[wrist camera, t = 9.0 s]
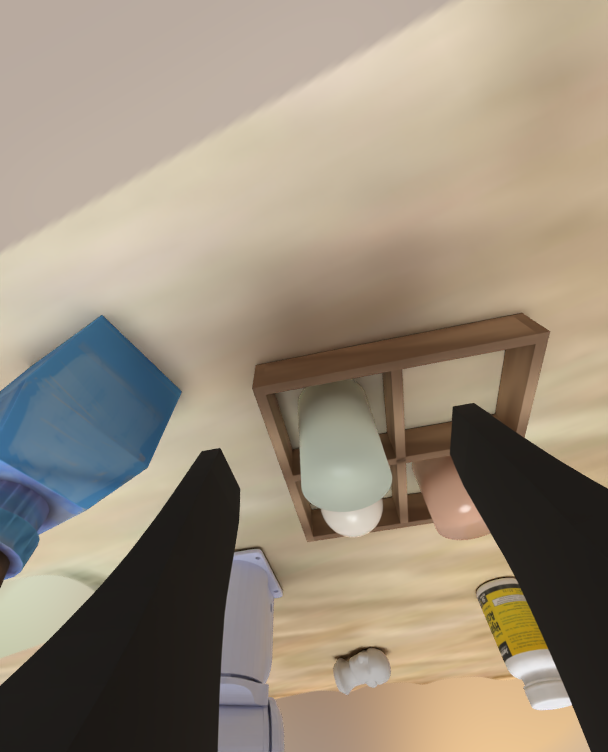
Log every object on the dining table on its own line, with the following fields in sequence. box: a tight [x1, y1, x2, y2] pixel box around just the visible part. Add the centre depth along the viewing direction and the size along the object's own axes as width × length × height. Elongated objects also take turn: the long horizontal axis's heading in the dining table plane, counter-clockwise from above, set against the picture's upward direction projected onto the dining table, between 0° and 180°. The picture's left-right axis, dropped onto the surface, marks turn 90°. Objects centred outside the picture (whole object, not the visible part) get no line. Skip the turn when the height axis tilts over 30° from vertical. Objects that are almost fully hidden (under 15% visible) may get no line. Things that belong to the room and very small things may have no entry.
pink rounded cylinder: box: [412, 456, 490, 540], centre depth 24 cm, size 5×5×5 cm
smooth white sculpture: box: [333, 648, 391, 695], centre depth 46 cm, size 4×8×5 cm
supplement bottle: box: [477, 578, 572, 710], centre depth 34 cm, size 5×5×10 cm
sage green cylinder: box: [298, 379, 392, 512], centre depth 19 cm, size 5×5×6 cm
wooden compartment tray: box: [252, 313, 550, 542], centre depth 23 cm, size 16×16×2 cm
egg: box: [321, 498, 383, 537], centre depth 24 cm, size 5×5×5 cm
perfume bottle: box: [0, 315, 182, 587], centre depth 15 cm, size 6×6×12 cm
